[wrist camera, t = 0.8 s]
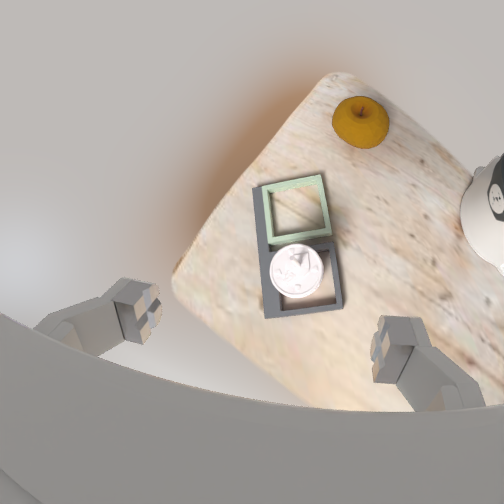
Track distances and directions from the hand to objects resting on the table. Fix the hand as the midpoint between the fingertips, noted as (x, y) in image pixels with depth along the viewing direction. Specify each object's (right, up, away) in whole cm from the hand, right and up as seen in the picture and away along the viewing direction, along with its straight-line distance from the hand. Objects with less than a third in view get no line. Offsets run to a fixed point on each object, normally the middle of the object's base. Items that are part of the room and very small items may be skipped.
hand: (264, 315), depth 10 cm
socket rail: (+7, +3, +35) cm, 36 cm away
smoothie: (+8, -2, +33) cm, 34 cm away
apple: (+18, +21, +36) cm, 45 cm away
